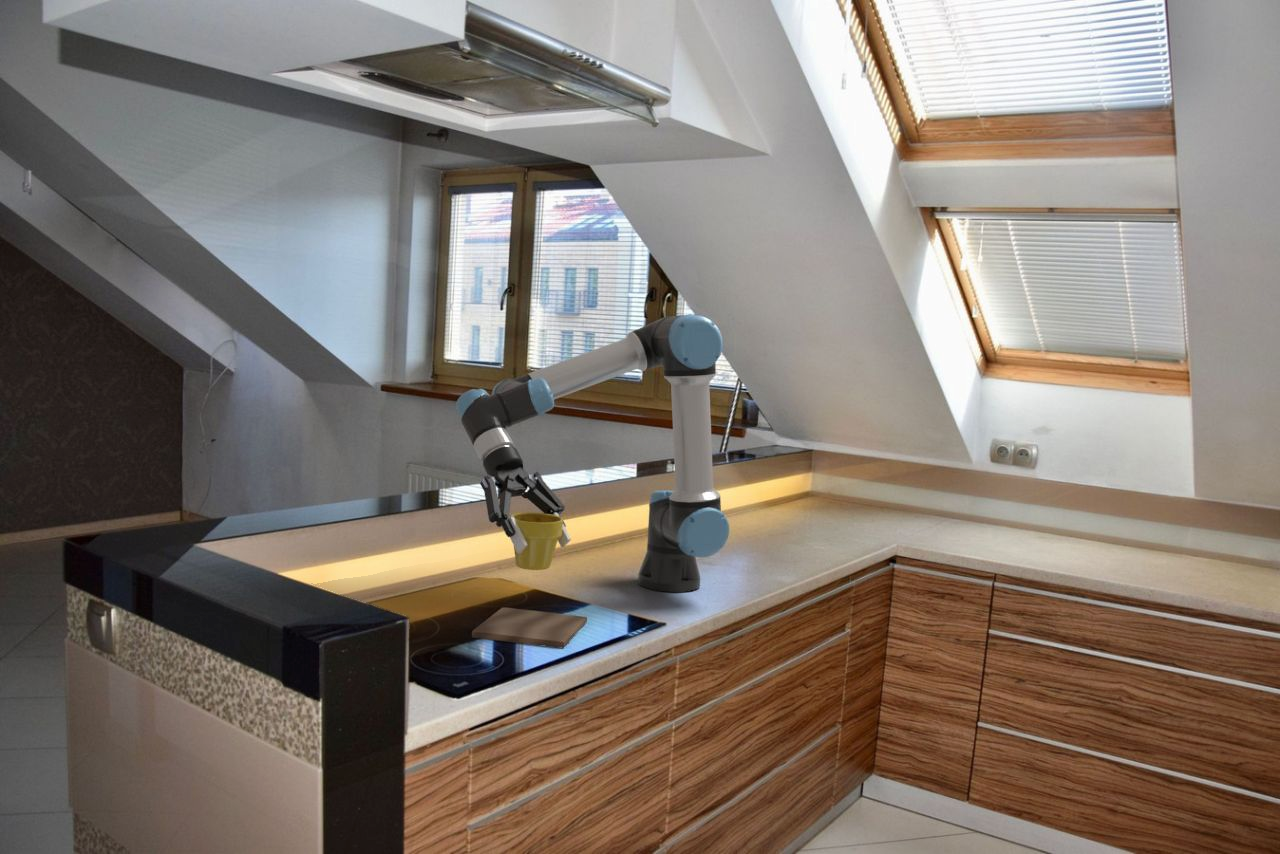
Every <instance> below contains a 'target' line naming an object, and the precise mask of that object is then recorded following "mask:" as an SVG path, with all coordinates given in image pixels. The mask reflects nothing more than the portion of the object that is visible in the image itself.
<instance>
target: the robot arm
mask: <svg viewBox="0 0 1280 854" xmlns="http://www.w3.org/2000/svg"><path fill="white" fill-rule="evenodd" d="M723 346H724V345H723V336H722V332H721V331H720V329H719V328H718V326H717V325H716V324H715V323H714V322H713V321H712V320H711V319H709V318H708V317H705V316H703V315H697V314H692V313H691V314H690V313H689V314H681V315H680V314H679V315H676V314H675V315H667V316H664V317H661V318H659V319H657V320H655V321H653V322H650V323H649V324H646V325H644V326H642V327H640V328H637V329H634V330H631V331H629V332H628V334H627V335H626V337H625V338H623V339H620V340H618V341H617V340H616V341H615V342H611V343H609V344H607V345H604V346H601V347H598V348H595V349H593V350H590V351H587V352H584V353H581V354H579V355H576V356H573V357H570V358H567V359H565V360H563V361H560V362H556V363H554V364H551V365H548V366H545V367H543V368H540V369H537V370H535V371H531V372H529V373H527V374H523V375H520V376H518V377H516V378H513V379H504V380H502V381H499V382H497V384H495V386H494V387H493V389H492V392H491V395H490V394H489V393H488V392H487V391H486V390H485V389H483V388H477V389H475V388H474V389H473V388H472V389H470V390H467V391H466V392H463V394H461V395H460V397H458V399H457V400H456V403H455V409H456V412H457V416H459V419H460V423H461V425H462V426H463V428H464V430H465V432H466V434H467V436H468V438H469V440H470V442H471V444H472V446H473V448H474V451H475V452H476V454H477V456H478V459H480V463H482V466H483V468H484V470H485V471H484V472H486V475H485V476H484V478H482V480H481V481H480V486H481V488H482V490H483V492H484V498H485V505H486V510H487V515H488V520H489V522H490V523H493V524H494V523H495V525H496V526H497V527H498V528H502V529H503V531H504V534H505V535H506V537H508V538H509V539H510V541H511V543H512V544H513V548H514V547H515V549H516V551H517V553H521V552H522V551H523V550H524V549H525V547H526V546H527V545H528V544H527V542H526V540H525V538H524V536H523V534H522V532H521V530H520V528H519V526H518V524H517V522H516V520H515V518H514V517H510V516H511V515H510V513H511V501H512V496H521V498H523V499H527V500H528V501H530V502H531V503H532V504H533V505H534V506H535V507H536V508H538V509H539V510H540V511H541V513H545V514H552V515H556V516H559V517H561V518H562V513H563V512H564V510H565V509H566V505H564V503H563V502H562V501H561V500H560V499H559V498H558V496H557V495H556V493H554V491H552V489H551V487H549V486H548V484H547V483H546V482H545V481H544V479H543V477H542V475H541V473H540V472H538V471H535V472H534V473H532V474H529V473H528V472H527V471H526V470H525V469H524V462H523V461H524V460H523V459H522V457H521V455H520V453H519V451H518V449H517V448H516V446H515V443H514V441H513V438H511V436H510V434H509V432H508V430H507V428H510V427H512V426H514V425H516V424H520V423H522V422H525V421H527V420H530V419H532V418H536V417H539V416H542V415H543V414H545V413H547V412H549V411H551V410H552V409H553V408H554V407H555V400H556V399H559V398H561V397H564V396H567V395H570V394H573V393H575V392H578V391H581V390H584V389H586V388H589V387H592V386H595V385H598V384H599V383H603V382H605V381H608V380H611V379H613V378H616V377H619V376H621V375H625V374H627V373H630V372H632V371H635V370H640V371H641V372H644V371H648V370H650V369H654V368H658V367H662V368H663V369H662V370H663V378H664V379H665V380H667V382H669V384H670V387H671V388H670V389H671V391H670V393H671V412H672V413H671V414H672V417H671V418H672V436H673V437H672V438H673V439H672V441H673V458H674V462H673V464H674V484H675V486H674V487H675V488H674V490H654V491H653V492H652V493H651V494H650V501H649V504H648V507H649V511H648V527H647V542H646V543H647V544H646V545H647V546H646V553H645V556H644V558H643V560H642V564H641V565H640V569H639V571H638V574H637V584H638V585H640V586H641V587H643V588H646V589H649V590H655V591H660V592H667V593H668V592H669V593H671V592H672V593H683V592H685V593H686V591H687V592H692V591H691V590H693V591H696V590H695V589H697V590H699V589H700V588H701V574H700V571H699V566H698V562H697V558H699V559H702V558H704V559H705V558H709V557H711V556H714V555H717V553H719V552H720V551H721V550H722V548H723V547H725V545H726V544H727V541H728V539H729V535H730V523H729V521H728V518H727V517H726V515H725V514H724V513H723V511H722V505H721V503H722V502H721V493H719V491H717V490H716V489H715V487H714V476H713V475H714V472H713V470H714V469H713V449H712V446H713V445H712V418H711V395H710V392H711V391H710V383H711V381H712V380H713V379H714V378H715V376H716V375H717V371H716V370H717V369H716V367H717V366H716V362H717V361H718V359H719V358H720V357H721V355H722V352H723V348H724V347H723ZM497 488H498V489H499V494H498V491H497ZM526 490H527V491H526ZM562 519H563V518H562ZM566 527H567V525H566V523H565V521H564V520H563V528H562V535H561V536H560V537H559V538H558V541H557V543H559V546H560V548H565V547H566V546H567V545H568V544H569V543H570V541H571V540H572V538H571V536H570V534H569V532H568V530H567V528H566ZM699 587H700V588H699Z"/></svg>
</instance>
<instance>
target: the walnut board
mask: <svg viewBox="0 0 1280 854" xmlns="http://www.w3.org/2000/svg"><path fill="white" fill-rule="evenodd" d="M586 622H587V623H588V616H582V615H574V614H566V613H559V612H557V613H556V612H549V611H539V610H532V609H531V610H529V609H522V608H521V609H520V608H514V607H513V608H512V607H505V606H504V607H501V608H500V609H499V610H497V611H496V612H495V613H493V614H492V615H491V616H490V617H488V618H487V619H486V620H484V621H483V622H482V623H480V624H479V625H478V626H477V627H476V628H474V629H473V630H472V631H471V638H475V639H483V640H491V641H499V642H507V643H508V642H509V643H514V644H525V645H532V646H533V645H534V646H540V645H545V646H544V647H548V646H553V647H552V648H557V647H562V648H561V649H565V648H566V647H567V646H568V645H569V643H570V642H571V641H572V640H573V639H574V638H575V637H576V635H577V634H578V633H579V632H580V631H581V630H582V629H583V628H584V627H585V625H586V624H587V623H586ZM585 623H586V624H585ZM581 628H582V629H581ZM580 629H581V630H580ZM579 630H580V631H579ZM578 631H579V632H578ZM577 632H578V633H577ZM576 633H577V634H576ZM575 634H576V635H575ZM574 636H575V637H574ZM573 637H574V638H573ZM572 638H573V639H572ZM571 639H572V640H571ZM570 640H571V641H570ZM569 641H570V642H569ZM567 644H568V645H567ZM566 645H567V646H566ZM565 646H566V647H565ZM564 647H565V648H564Z"/></svg>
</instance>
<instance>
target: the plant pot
mask: <svg viewBox="0 0 1280 854" xmlns="http://www.w3.org/2000/svg"><path fill="white" fill-rule="evenodd" d="M510 517H514V518H515V520H516V522H517V524H518V526H519V528H520V530H521V532H522V534H523V536H524V538H525V540H526V542H527V544H528V545H527V546H526V547H525V549H524V550H523V551H522V552H521V553H517V551H516V549H515V547H514V546H513V549H514V550H513V551H514V558H515V559H514V560H515V565H516V567H517V568H519V569H523V570H527V571H528V570H529V571H543V570H547V569H550V567H551V565H552V561H553V556H554V554H555V551H556V548H557V547H556V546H557V545H558V544H557V543H558V538H559V537H560V536H561V535H562V528H563V521H564V519H563V518H561V517H562V516H561V517H559V516H556V515H552V514H545V513H543V512H517V513H513V514H511V515H509V518H510Z"/></svg>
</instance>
